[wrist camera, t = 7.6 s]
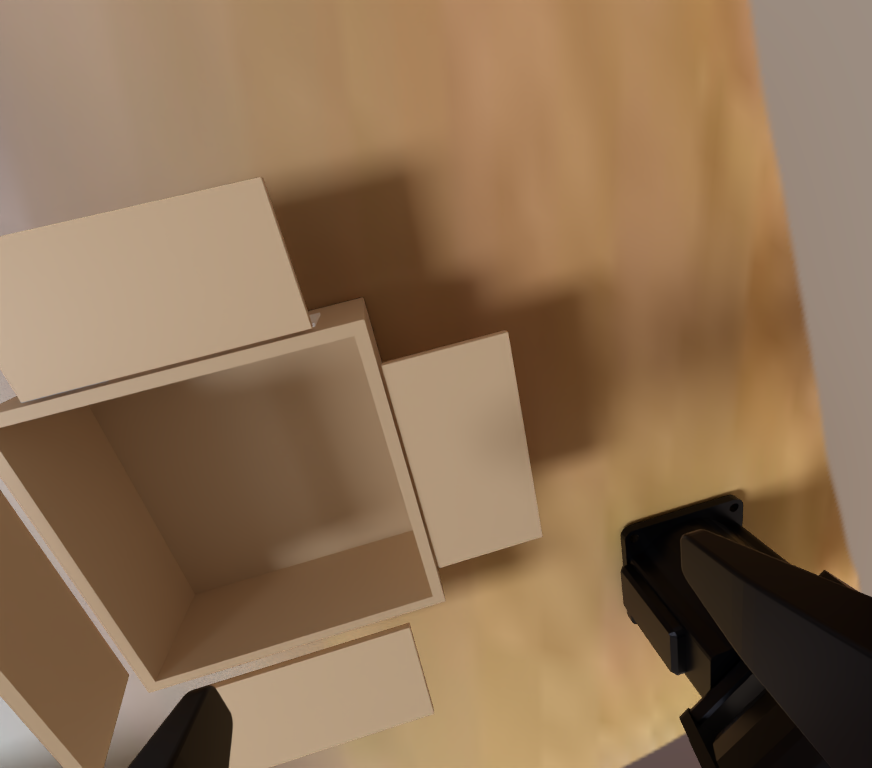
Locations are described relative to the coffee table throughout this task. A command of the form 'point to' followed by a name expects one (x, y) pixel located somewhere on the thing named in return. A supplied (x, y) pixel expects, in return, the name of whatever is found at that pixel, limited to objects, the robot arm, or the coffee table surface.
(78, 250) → the carton
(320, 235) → the coffee table surface
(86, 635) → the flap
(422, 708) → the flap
